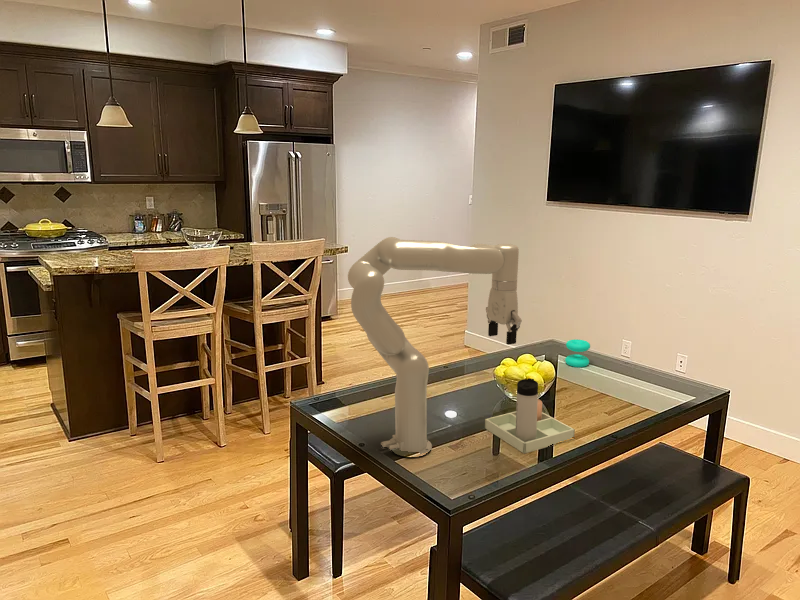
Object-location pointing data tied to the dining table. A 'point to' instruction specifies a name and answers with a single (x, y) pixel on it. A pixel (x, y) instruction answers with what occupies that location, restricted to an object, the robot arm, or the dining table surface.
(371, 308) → the robot arm
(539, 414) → the peach rounded capsule
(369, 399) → the dining table surface
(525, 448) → the carrier
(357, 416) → the dining table surface
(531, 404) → the travel mug
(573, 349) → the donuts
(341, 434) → the dining table surface
